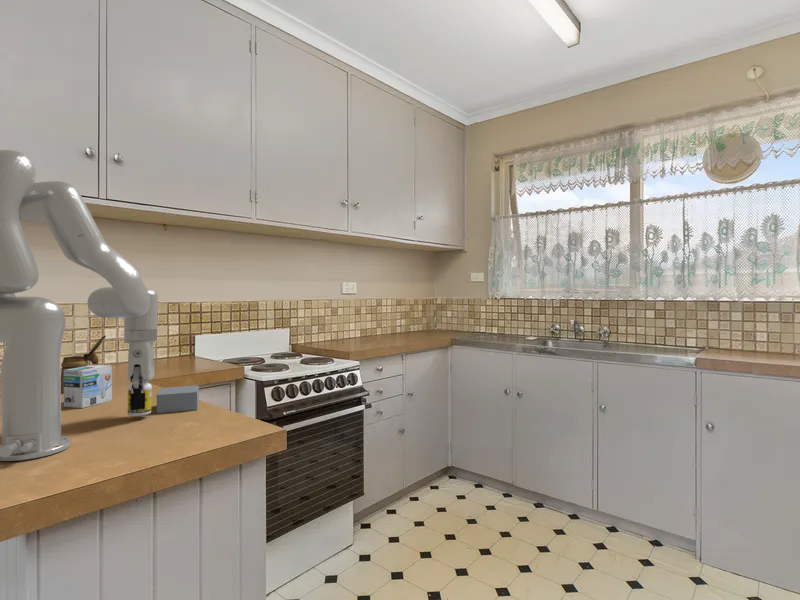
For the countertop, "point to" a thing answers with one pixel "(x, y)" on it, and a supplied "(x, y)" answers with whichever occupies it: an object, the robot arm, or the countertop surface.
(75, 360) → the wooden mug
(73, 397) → the light bulb box
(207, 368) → the countertop surface
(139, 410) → the supplement bottle
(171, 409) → the riser base
